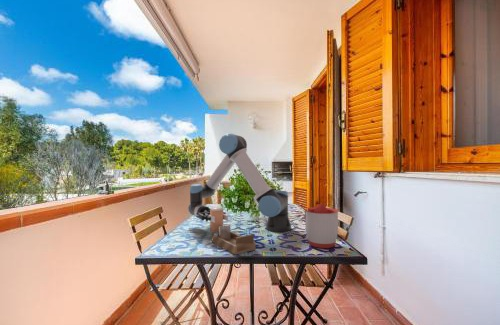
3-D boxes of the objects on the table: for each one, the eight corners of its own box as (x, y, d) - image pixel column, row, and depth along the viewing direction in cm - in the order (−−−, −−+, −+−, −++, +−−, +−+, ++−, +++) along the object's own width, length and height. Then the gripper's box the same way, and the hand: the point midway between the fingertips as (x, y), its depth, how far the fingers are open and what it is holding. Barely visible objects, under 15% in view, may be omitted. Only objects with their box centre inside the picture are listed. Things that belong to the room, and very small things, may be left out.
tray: (212, 242, 129) (212, 228, 129) (231, 238, 135) (231, 225, 135) (235, 254, 110) (235, 238, 110) (255, 249, 117) (255, 234, 117)
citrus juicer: (306, 238, 134) (306, 200, 134) (341, 242, 126) (340, 202, 126) (297, 246, 120) (297, 204, 120) (335, 252, 112) (335, 207, 112)
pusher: (218, 239, 128) (218, 226, 128) (229, 237, 131) (229, 224, 132) (220, 240, 127) (220, 226, 127) (230, 238, 130) (230, 225, 131)
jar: (223, 228, 140) (223, 206, 140) (223, 231, 133) (223, 208, 133) (210, 228, 140) (210, 206, 140) (209, 232, 133) (209, 209, 133)
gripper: (217, 216, 157) (237, 223, 138) (186, 220, 145) (203, 228, 127) (217, 204, 157) (237, 209, 138) (186, 207, 145) (203, 213, 127)
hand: (221, 218), depth 132 cm, fingers closed on jar, 7 cm apart
